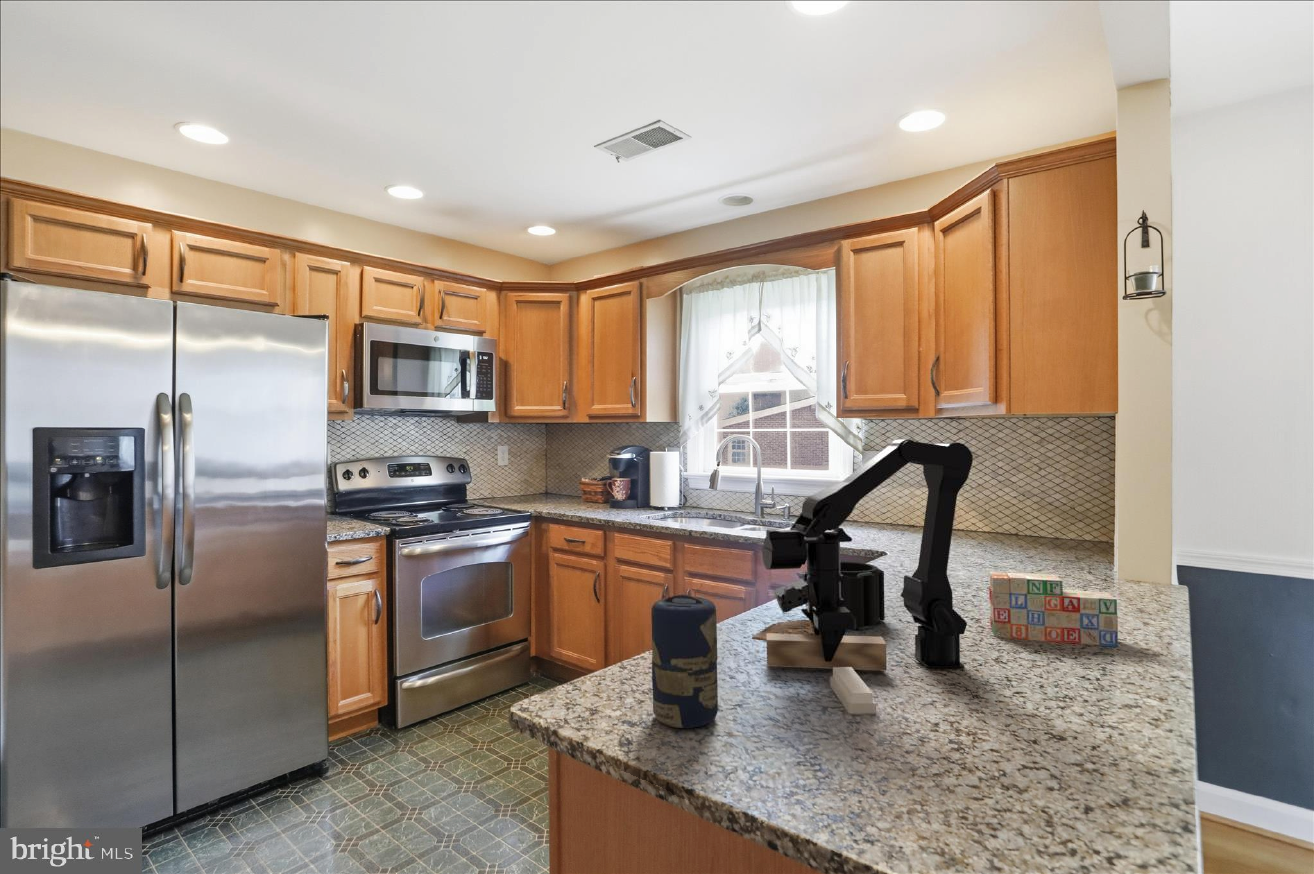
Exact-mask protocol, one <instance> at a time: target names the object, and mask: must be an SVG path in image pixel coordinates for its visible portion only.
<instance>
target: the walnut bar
mask: <svg viewBox="0 0 1314 874" xmlns="http://www.w3.org/2000/svg"><path fill="white" fill-rule="evenodd" d="M766 639H767V641H766V666H767V667H786V668H787V667H792V668H814V669H815V668H819V669H833V667H852V669H853V670H865V671H867V670H868V671H887V669H888V668H887V667H888V666H887V664H888V663H887V661H888V659H887V643H886V641H885V640H884V638H883V637H882V636H869V635H867V636H866V635H844V636H843V638H842V640H841V642H840V644H839V646H838V648H837V650H836V653H835V655H834V657H833V659H832V661H831V662H826V661H825V660H824V655H823V649H822V644H821V638H820V635H813V634H810V635H807V634H776V633H766Z"/></svg>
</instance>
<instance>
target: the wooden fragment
mask: <svg viewBox="0 0 1314 874" xmlns="http://www.w3.org/2000/svg"><path fill="white" fill-rule="evenodd" d="M766 633H776V634H807V635H814V632H813V628H812V624H811V621H810V620H809V619H801V620H800V619H797V620H791V621H790V620H788V621H780V622H776V623H772V624H770V625H769V626H767V627H765V628H764V629H762V630H760V631H759V632H758V633H756V634H754V635H752V637H751V639H755V640H758V641H759V640H760V641H762V642H763V641H764V642H767V639H766Z"/></svg>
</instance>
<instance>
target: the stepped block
mask: <svg viewBox="0 0 1314 874" xmlns="http://www.w3.org/2000/svg"><path fill="white" fill-rule="evenodd" d="M829 686H830V688H831V689H832V690H833V692H834V694H835V695H836V696H837V698H838V699H839V701H840V703H841V704H842V706H843V708H844V709H845V710H846V712H847V714H851V715H852V714H853V715H854V714H855V715H856V714H859V715H861V714H862V715H863V714H865V715H866V714H867V715H868V714H871V715H873V714H877V703H876V701H875V700H874V698H873V697H874V695H873V694H874V693H873V692H872V690H871V689H870V688H869V687H868V685H867V684H866V683H865V682H864V681H863V679H862V678H861V677H860V676H859V674H858V673H857V672H856V671H855V669H852V667H833V668H832V675H831V676H829Z"/></svg>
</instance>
